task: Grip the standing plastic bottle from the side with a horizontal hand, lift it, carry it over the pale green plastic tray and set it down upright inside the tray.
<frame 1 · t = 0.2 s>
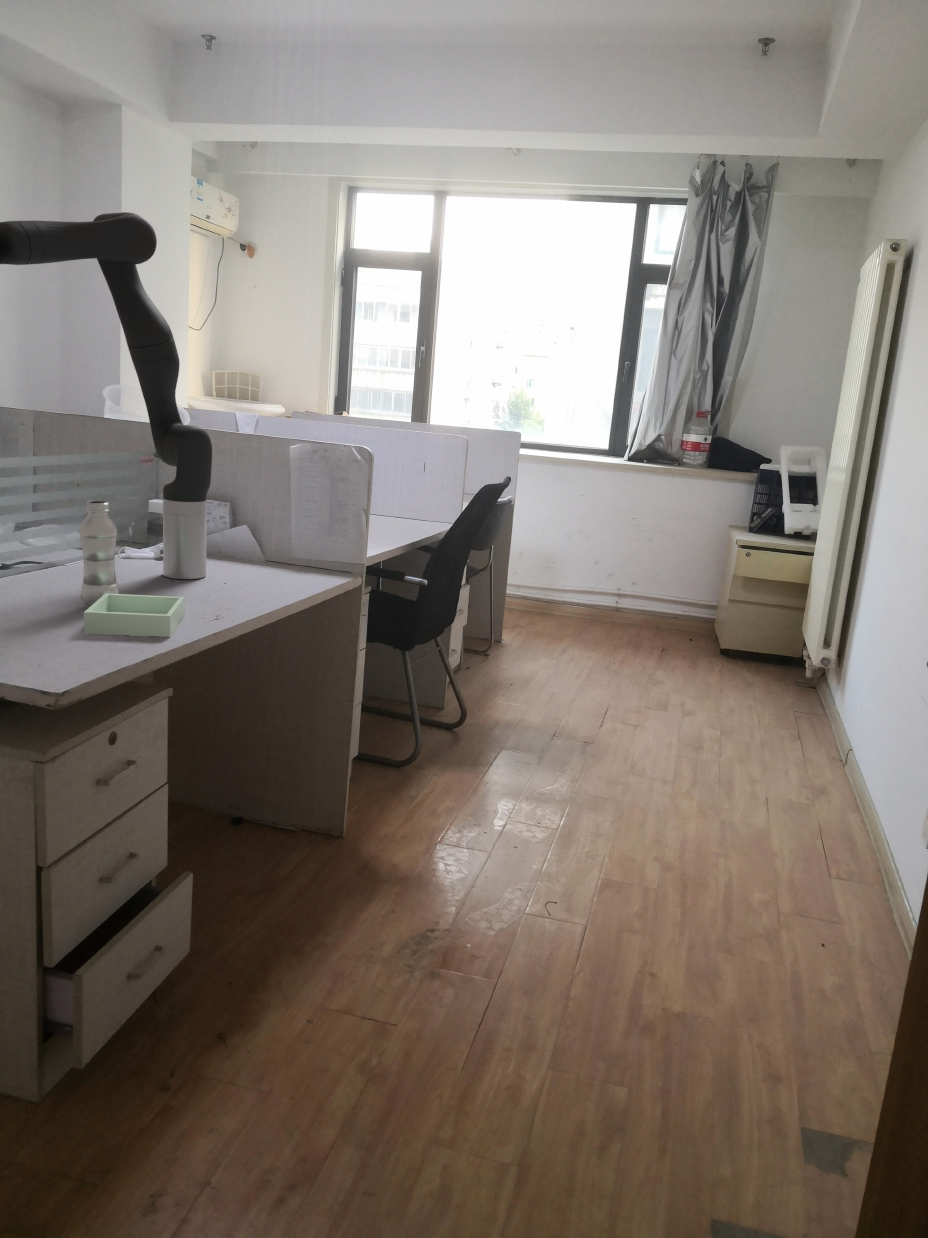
plastic bottle: (100, 608, 164), on the table
green tray: (137, 624, 155), on the table
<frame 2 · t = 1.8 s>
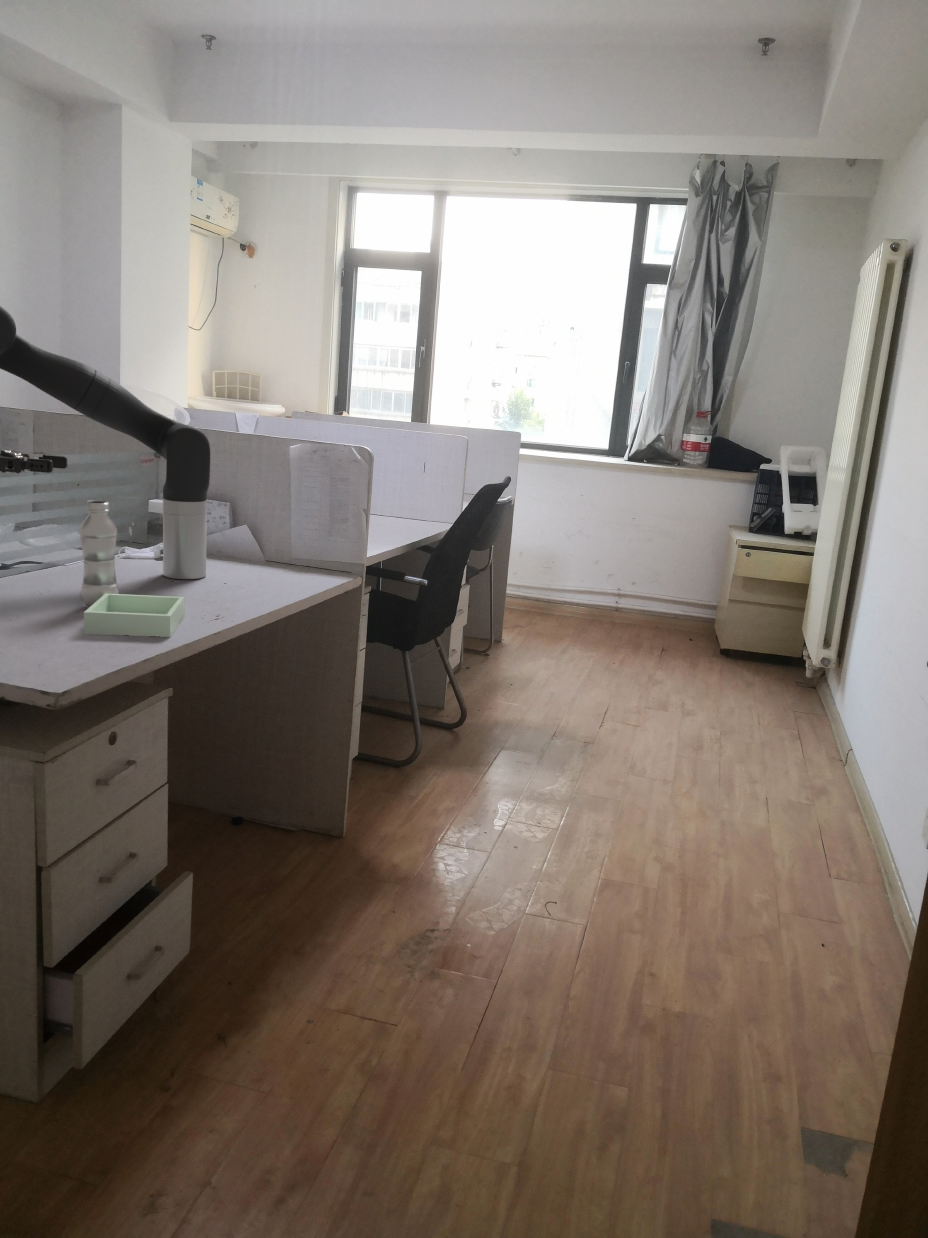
hand: (59, 464, 159), 26 cm above the table, tool horizontal, fingers open, 8 cm apart
nothing on the table moved.
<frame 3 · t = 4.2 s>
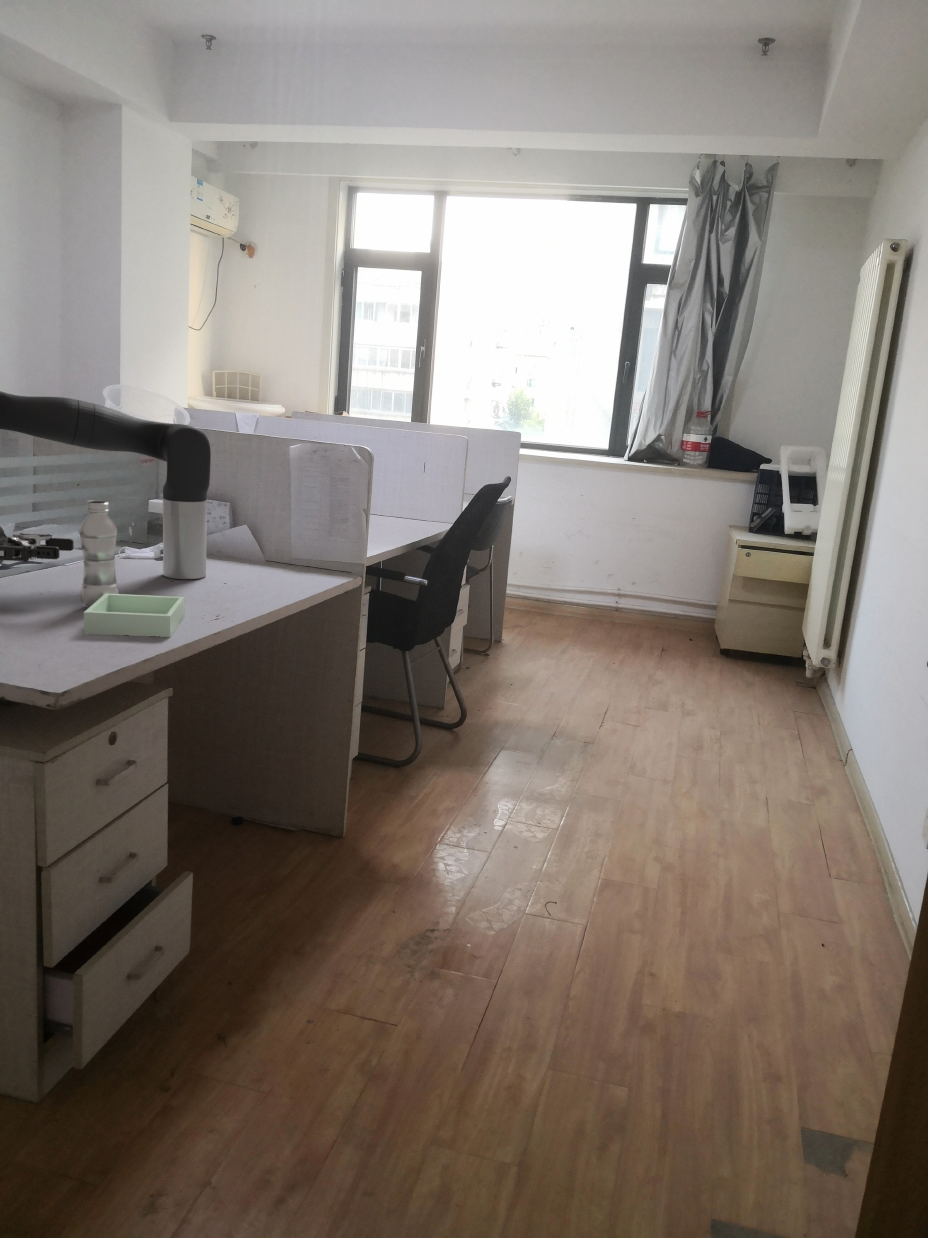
hand: (66, 548, 161), 11 cm above the table, tool horizontal, fingers open, 8 cm apart
nothing on the table moved.
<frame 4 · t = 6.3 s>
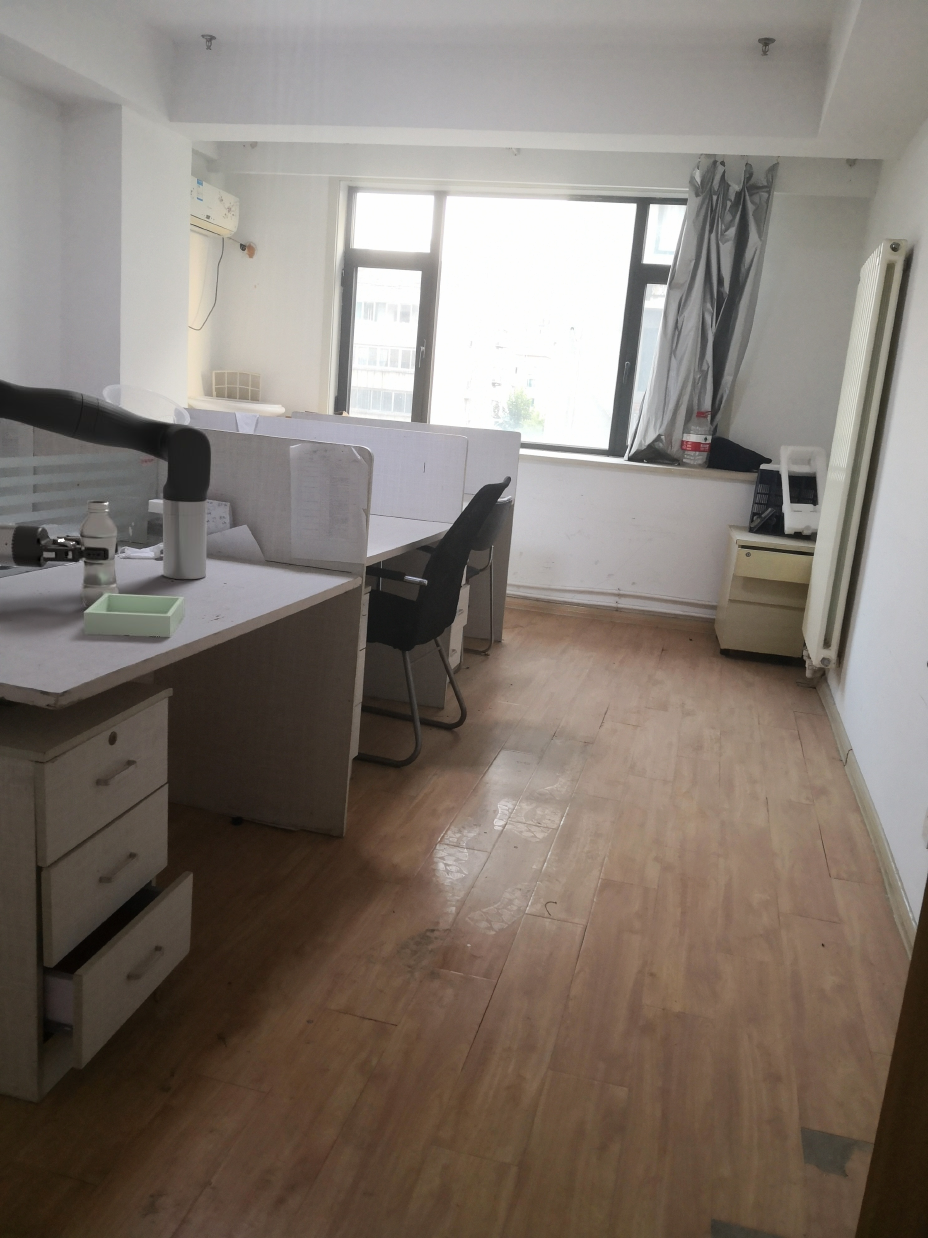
hand: (112, 550, 162), 11 cm above the table, tool horizontal, fingers closed on plastic bottle, 6 cm apart
plastic bottle: (100, 608, 164), on the table, touching gripper
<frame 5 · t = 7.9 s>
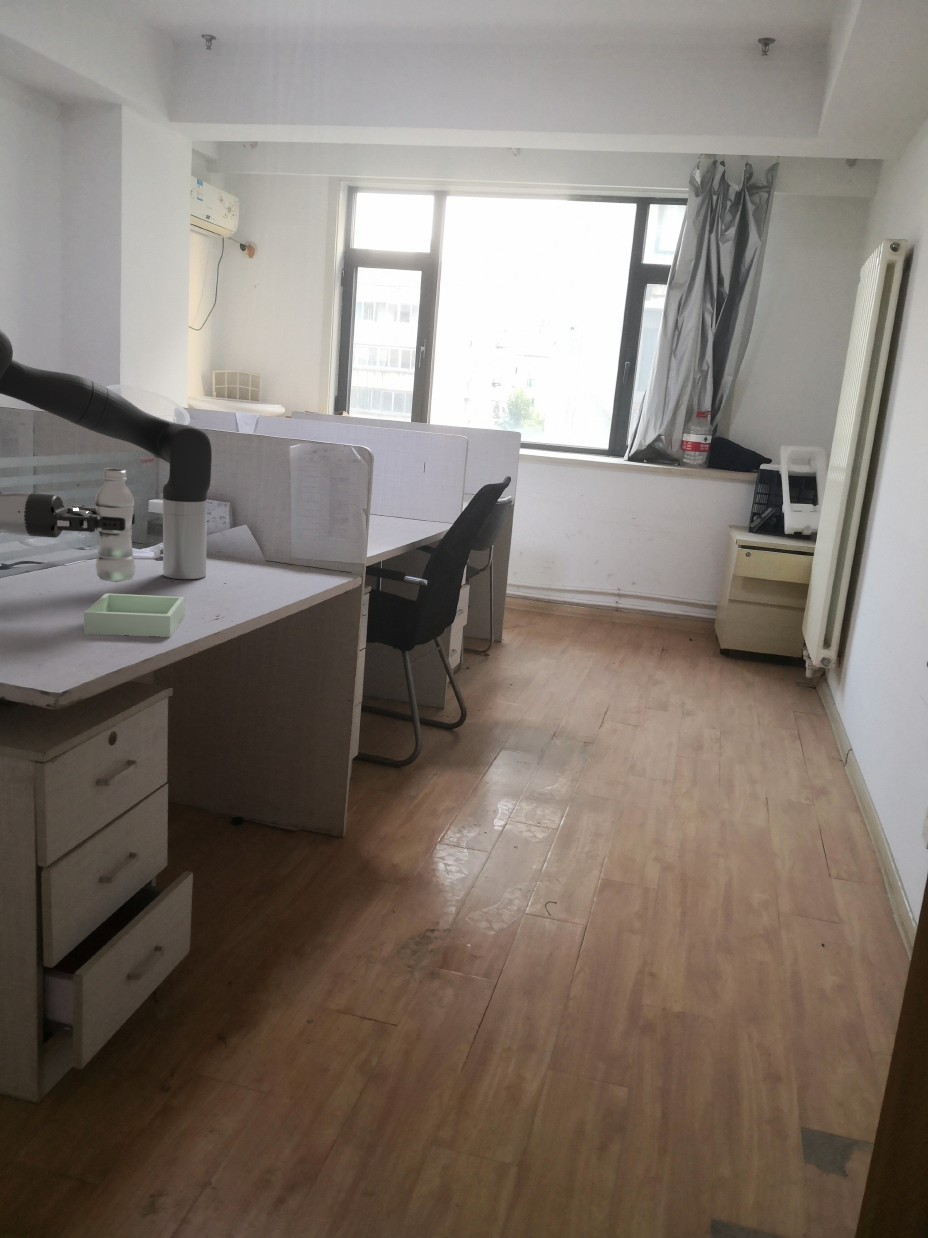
hand: (129, 521, 155), 18 cm above the table, tool horizontal, fingers closed on plastic bottle, 6 cm apart
plastic bottle: (115, 582, 157), point 7 cm above the table, touching gripper
when the fingers open (13 cm above the table, at t = 9.6 s): plastic bottle drops 1 cm, resting on green tray.
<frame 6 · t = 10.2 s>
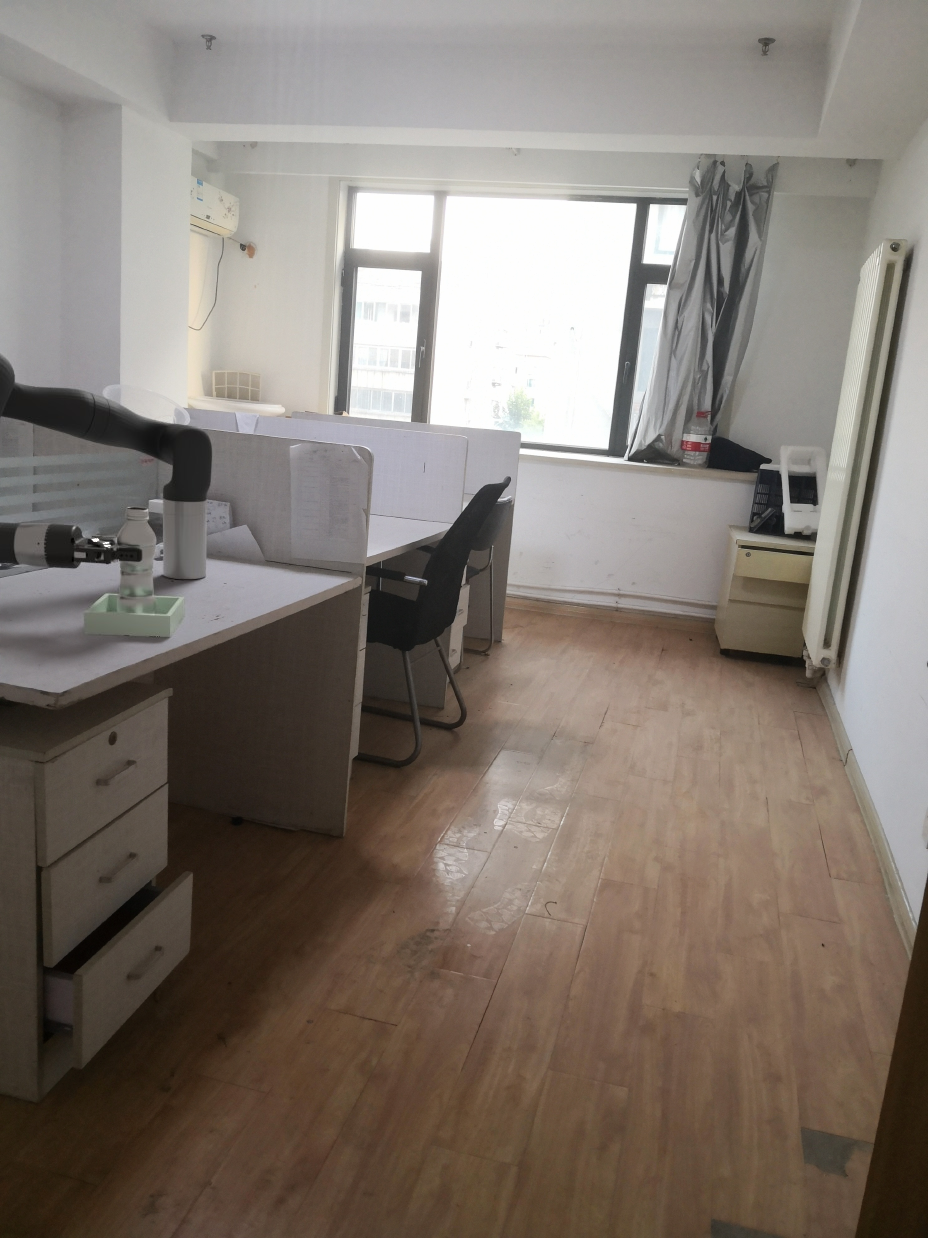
hand: (147, 550, 152), 14 cm above the table, tool horizontal, fingers open, 8 cm apart
plastic bottle: (136, 621, 155), point 1 cm above the table, touching green tray
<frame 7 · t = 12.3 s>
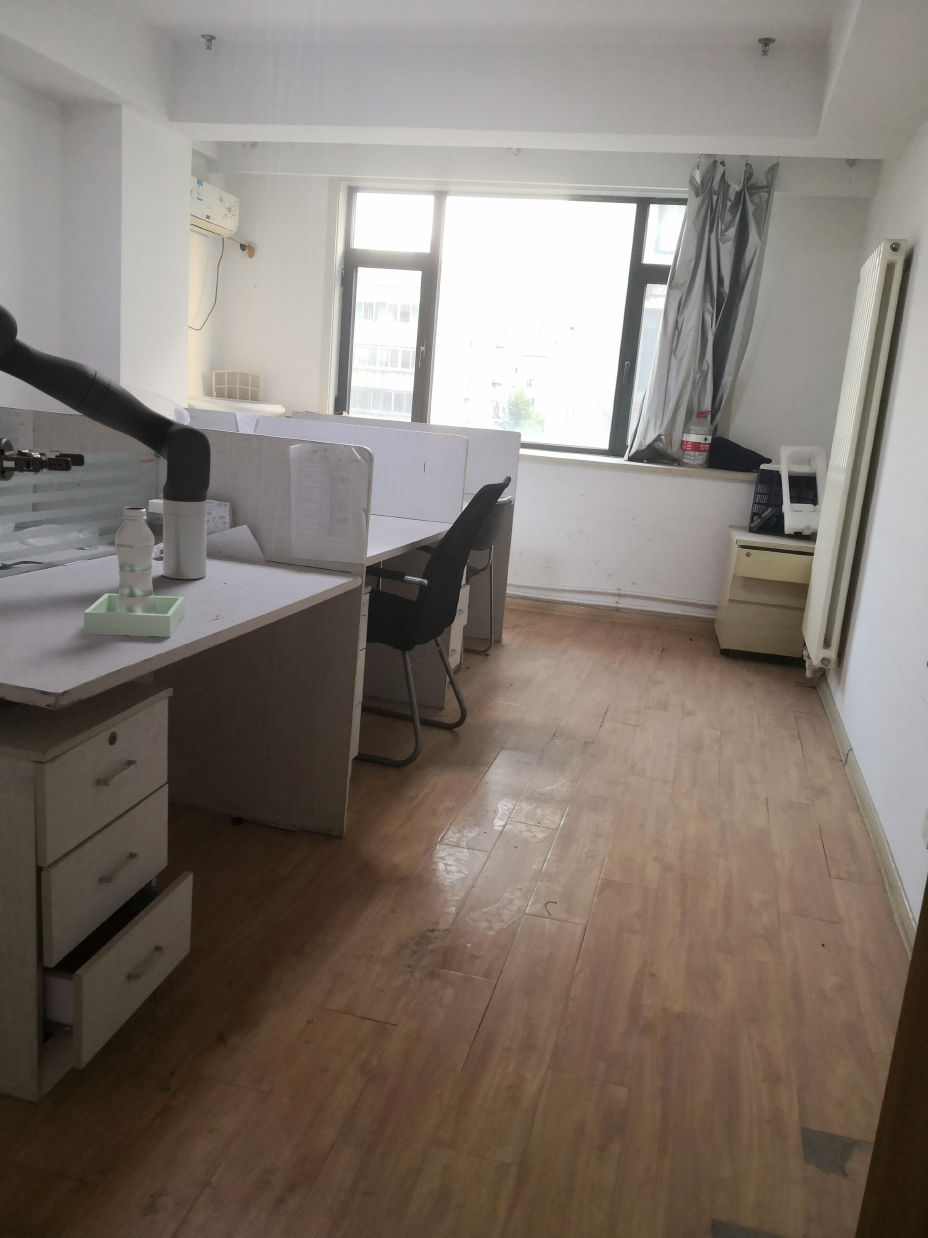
hand: (77, 462, 156), 27 cm above the table, tool horizontal, fingers open, 8 cm apart
nothing on the table moved.
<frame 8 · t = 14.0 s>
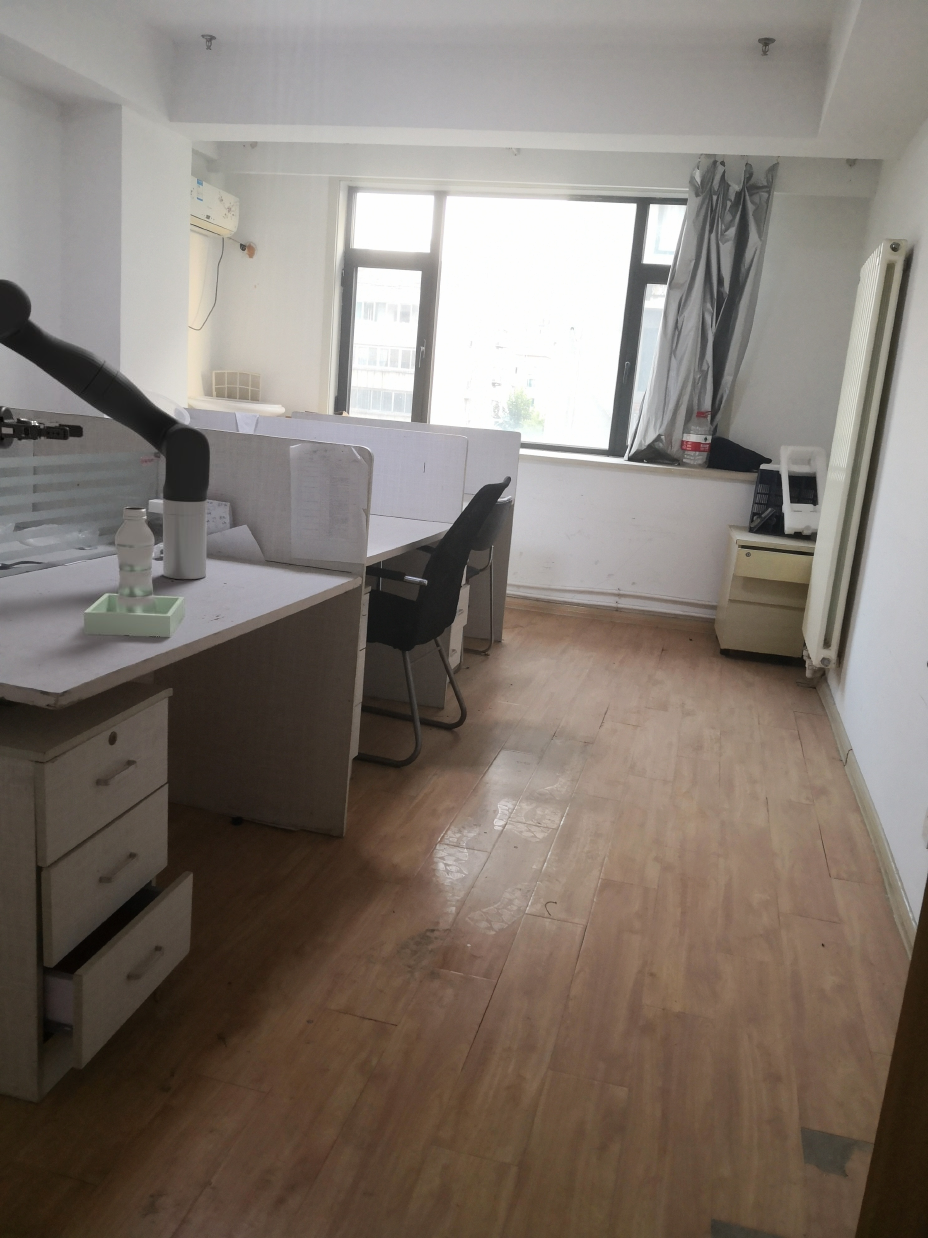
hand: (75, 432, 158), 32 cm above the table, tool horizontal, fingers open, 8 cm apart
nothing on the table moved.
at the end: plastic bottle inside the target area on the green tray (0.1 cm from its centre), point 0.6 cm above the green tray's base; plastic bottle tilted 0°; the gripper is holding nothing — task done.
